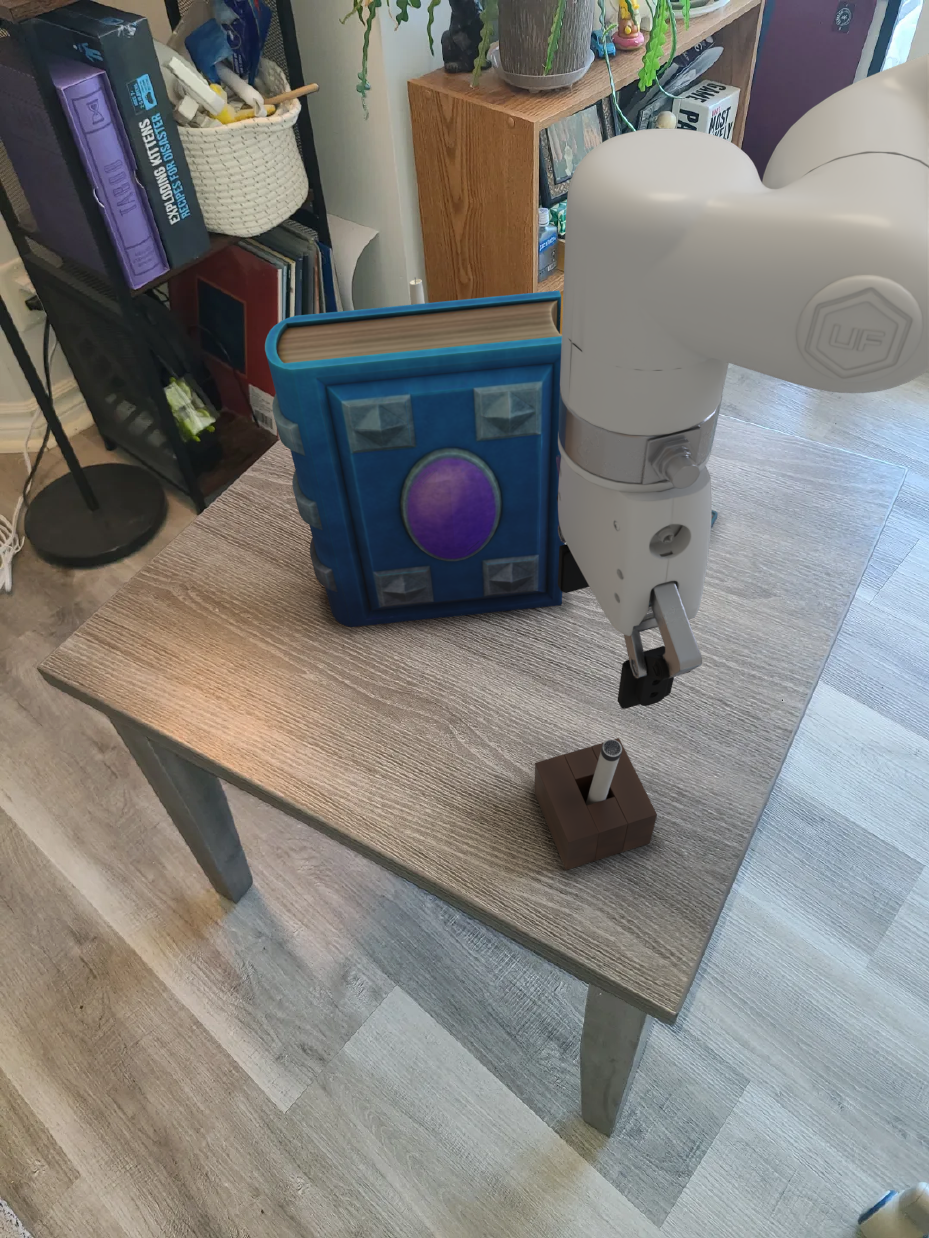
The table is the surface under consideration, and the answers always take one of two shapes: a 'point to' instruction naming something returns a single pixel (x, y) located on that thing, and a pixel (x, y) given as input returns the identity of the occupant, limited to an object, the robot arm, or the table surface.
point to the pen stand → (592, 807)
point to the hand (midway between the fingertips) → (610, 638)
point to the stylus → (604, 771)
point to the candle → (416, 292)
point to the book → (426, 453)
